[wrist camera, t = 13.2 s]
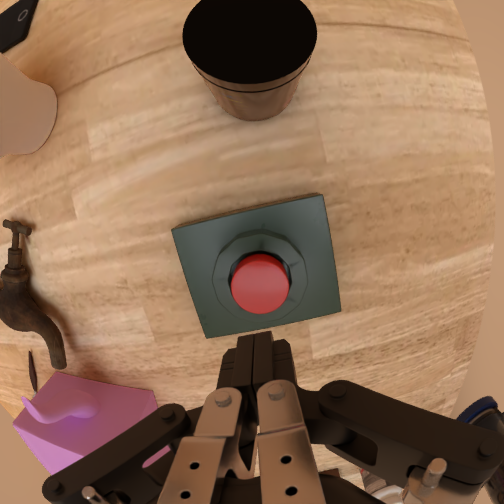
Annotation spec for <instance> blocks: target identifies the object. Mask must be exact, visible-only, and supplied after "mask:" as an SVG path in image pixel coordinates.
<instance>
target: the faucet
mask: <svg viewBox="0 0 504 504" xmlns="http://www.w3.org/2000/svg"><path fill="white" fill-rule="evenodd" d="M3 227H6V228H9V229H11V230H12V232H13V237H12V247H11V248H9V249H8V264H6V265H5V269H4V270H3V271H2V272H1V278H2V280H3V283H4V288H3V290H1V289H0V319H1V320H2V321H3V322H4V323H5V324H6V325H7V326H9V327H10V328H12V329H14V330H17V331H22V332H28V331H34V332H36V333H38V334H40V335H41V336H42V337H43V338H44V340H45V342H46V344H47V346H48V349H49V353H50V359H51V364H52V367H53V368H55V369H58V370H61V369H64V368H66V367H67V363H66V356H65V350H64V343H63V339H62V335H61V332H60V331H59V329H58V327H57V326H56V325H55V323H54V322H53V321H52V320H51V318H49V317H48V316H47V315H46V314H44V313H43V312H42V311H41V310H40V309H39V308H38V306H37V305H36V304H35V302H34V301H33V300H32V298H31V297H30V296H29V294H28V292H27V290H26V288H25V285H26V281H27V279H28V272H27V271H26V270H24V266H23V265H21V260H22V249H21V248H18V246H19V233H23V234H25V235H27V236H29V235H30V234H31V232H32V229H31V228H30V227H27V226H23V225H21V223H20V222H19V221H15V222H11V221H9V220H7V219H5V220H4V221H3Z"/></svg>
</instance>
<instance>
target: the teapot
mask: <svg viewBox="0 0 504 504" xmlns="http://www.w3.org/2000/svg"><path fill="white" fill-rule="evenodd" d="M21 399H22V402H23V404H24V405H25V408H24V409H23V411H22V412H21V413H20V414H19V415H18V417H17V418H16V419H15V420H14V422H13V426H14V427H15V429H16V430H17V432H18V433H19V434H20V436H21V437H22V439H23V440H24V441H25V443H26V444H27V446H28V447H29V448H30V450H31V451H32V452H33V453H34V455H35V456H36V457H37V459H38V460H39V461H40V462H41V463H42V465H43V466H44V467H45V468H46V469H47V470H48V472H49V473H50V474H51V475H53V474H55V473H57V472H59V471H60V470H62V469H64V468H66V467H68V466H69V465H71V464H73V463H74V462H76V461H78V460H79V459H81V458H83V457H85V456H86V455H88V454H89V453H91V452H93V451H94V450H96V449H98V448H99V447H101V446H102V445H104V444H106V443H107V442H109V441H110V440H112V439H113V438H115V437H117V436H118V435H120V434H121V433H123V432H124V431H126V430H127V429H129V428H130V427H132V426H133V425H135V424H136V423H138V422H139V421H141V420H142V419H144V418H145V417H146V416H148V415H149V414H151V413H152V412H154V411H155V410H156V409H158V406H157V403H156V400H155V397H154V393H153V391H150V390H143V389H137V388H130V387H124V386H119V385H113V384H108V383H103V382H98V381H93V380H89V379H84V378H80V377H76V376H72V375H68V374H64V373H60V372H55V373H54V374H53V376H52V377H51V378H50V379H49V380H48V381H47V382H46V384H45V385H44V386H43V387H42V388H41V389H40V390H39V392H38V393H37V394H36V395H35V396H34V397H33V399H32V400H31V401H30V400H28V399H27V398H25V397H23V396H22V397H21ZM168 451H170V448H169V447H168V446H166V447H164V448H163V449H161V450H160V451H159V452H157V453H156V454H155V455H153V456H152V457H150V458H149V459H148V460H146V461H145V462H144V464H143V468H145V467H148V466H149V465H151V464H152V463H153V462H155V461H156V460H158V459H159V458H160V457H162V456H163V455H164V454H166V453H167V452H168Z"/></svg>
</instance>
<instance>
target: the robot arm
mask: <svg viewBox="0 0 504 504" xmlns="http://www.w3.org/2000/svg"><path fill="white" fill-rule="evenodd" d="M258 425H259V426H260V433H258V434H257V426H258ZM311 444H325V446H326V448H327V449H328V450H330V451H332V452H333V453H335V454H337V455H338V456H340V457H342V458H344V459H345V460H347V461H349V462H351V463H353V464H354V465H356V466H358V467H360V468H362V469H364V470H366V471H368V472H370V473H371V474H373V475H375V476H377V477H379V478H381V479H383V480H385V481H388V482H390V483H392V484H394V485H396V486H398V487H400V488H403V489H404V490H403V493H402V500H403V503H404V504H473V502H474V500H475V498H476V497H477V495H478V493H479V491H480V490H481V488H482V487H483V486H484V487H485V489H486V491H487V493H488V495H489V497H490V499H491V501H492V503H493V504H504V412H503V413H501V412H500V411H499V410H498V408H497V407H496V406H494V407H488V408H485V409H483V410H482V411H480V412H479V413H477V414H476V415H475V416H473V417H472V418H471V419H470V420H469V421H468V422H467V423H464V422H461V421H458V420H454V419H451V418H448V417H445V416H442V415H439V414H436V413H433V412H430V411H427V410H424V409H421V408H418V407H415V406H412V405H410V404H407V403H404V402H401V401H399V400H396V399H393V398H391V397H388V396H385V395H383V394H380V393H378V392H375V391H372V390H370V389H367V388H365V387H363V386H360V385H358V384H355V383H353V382H350V381H346V380H337V381H332V382H330V383H328V384H326V385H324V386H323V387H322V388H321V389H320V390H319V391H308V390H304V389H302V388H300V387H299V386H298V385H297V378H296V371H295V366H294V361H293V357H292V352H291V347H290V344H289V343H288V342H287V341H286V340H285V339H281V340H276V341H274V339H273V335H272V332H271V331H266V332H261V333H256V334H250V335H245V336H239V337H238V340H237V347H236V348H231V349H228V351H227V352H226V353H225V354H224V355H223V359H222V365H221V368H220V373H219V378H218V383H217V388H216V390H215V391H213V392H212V393H210V394H209V395H208V396H207V398H206V400H205V403H204V405H203V406H201V407H198V408H195V409H192V410H188V411H185V409H184V407H183V406H181V405H179V404H175V403H174V404H166V405H163V406H161V407H159V408H158V409H156V410H155V411H154V412H152V413H151V414H149V415H148V416H146V417H145V418H144V419H142V420H141V421H139V422H138V423H136V424H135V425H133V426H132V427H130V428H129V429H127V430H126V431H124V432H123V433H121V434H120V435H118V436H117V437H115V438H113V439H112V440H110V441H109V442H107V443H106V444H104V445H102V446H101V447H99V448H98V449H96V450H94V451H93V452H91V453H89V454H88V455H86V456H85V457H83V458H81V459H79V460H78V461H76V462H74V463H73V464H71V465H69V466H68V467H66V468H64V469H62V470H60V471H59V472H57V473H55V474H53V475H52V476H50V477H48V478H47V479H46V480H45V482H44V484H43V486H42V493H43V496H44V497H45V498H46V499H47V500H48V501H49V502H51V503H52V504H386V503H385V502H383V501H381V500H379V499H377V498H376V497H374V496H372V495H370V494H369V493H367V492H365V491H364V490H362V489H360V488H359V487H357V486H355V485H354V484H352V483H351V482H349V481H347V480H345V479H343V478H340V477H337V476H334V475H330V474H324V473H318V470H317V466H316V462H315V459H314V455H313V451H312V447H311ZM166 446H168V447H169V448H170V451H168V452H167V453H166V454H164V455H163V456H162V457H160V458H159V459H158V460H156V461H155V462H153V463H152V464H151V465H149V466H148V467H145V468H143V464H144V462H145V461H146V460H148V459H149V458H150V457H152V456H153V455H155V454H156V453H157V452H159V451H160V450H161V449H163V448H164V447H166ZM257 448H258V456H259V469H260V476H258V477H255V478H254V471H255V464H256V456H257Z"/></svg>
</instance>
